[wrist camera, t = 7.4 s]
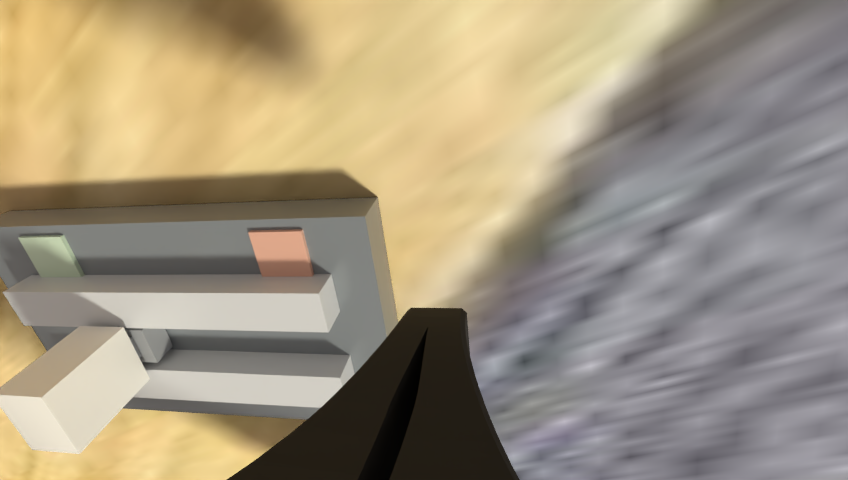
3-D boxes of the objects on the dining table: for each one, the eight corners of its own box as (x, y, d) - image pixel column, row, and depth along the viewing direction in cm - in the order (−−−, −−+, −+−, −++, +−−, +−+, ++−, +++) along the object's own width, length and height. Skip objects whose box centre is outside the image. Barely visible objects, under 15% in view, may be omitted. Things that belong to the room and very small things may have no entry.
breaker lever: (154, 305, 22) (48, 397, 17) (177, 355, 24) (85, 454, 19) (102, 304, 23) (-15, 393, 18) (128, 353, 24) (26, 449, 19)
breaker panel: (377, 197, 20) (353, 233, 17) (410, 396, 25) (396, 450, 22) (9, 210, 24) (-65, 242, 21) (106, 381, 29) (60, 426, 26)
